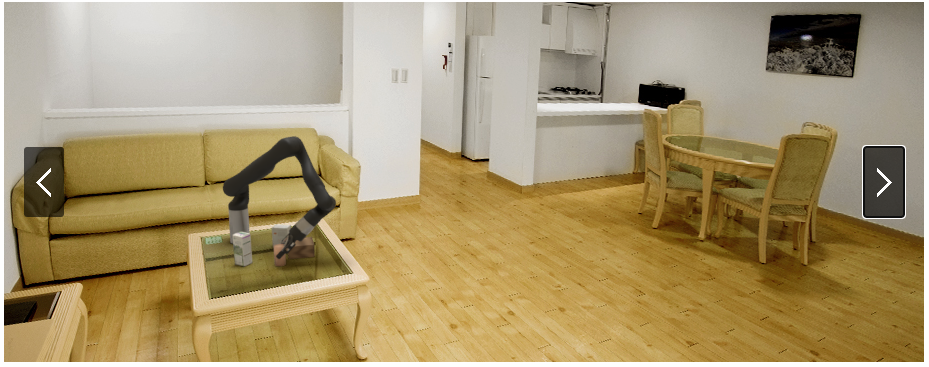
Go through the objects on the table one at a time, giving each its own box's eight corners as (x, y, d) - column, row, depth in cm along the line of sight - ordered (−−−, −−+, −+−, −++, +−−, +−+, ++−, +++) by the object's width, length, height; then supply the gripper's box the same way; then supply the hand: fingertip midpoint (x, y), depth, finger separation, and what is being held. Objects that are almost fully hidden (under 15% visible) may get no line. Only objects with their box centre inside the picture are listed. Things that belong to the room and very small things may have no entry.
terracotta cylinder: (274, 266, 279) (273, 248, 277) (274, 262, 284) (273, 244, 281) (286, 265, 280) (285, 247, 278) (285, 261, 285) (284, 243, 283)
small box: (292, 244, 308) (291, 224, 305) (288, 248, 303) (287, 228, 300) (276, 243, 309) (275, 223, 306) (272, 247, 303) (271, 227, 301)
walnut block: (288, 258, 289) (288, 246, 287) (287, 250, 300) (286, 238, 298) (314, 256, 293) (314, 244, 291) (312, 248, 304) (312, 236, 302)
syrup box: (252, 262, 283) (251, 232, 280) (243, 266, 278) (241, 236, 274) (243, 260, 285) (241, 230, 282) (234, 264, 280) (231, 234, 277)
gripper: (294, 219, 286) (270, 244, 286) (296, 228, 273) (271, 255, 273) (306, 229, 289) (282, 254, 289) (309, 238, 276) (284, 265, 275)
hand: (277, 254), depth 281 cm, fingers open, 8 cm apart
